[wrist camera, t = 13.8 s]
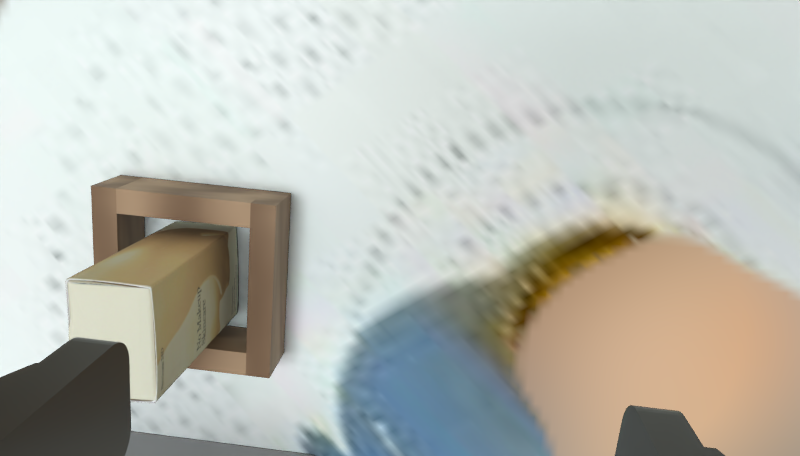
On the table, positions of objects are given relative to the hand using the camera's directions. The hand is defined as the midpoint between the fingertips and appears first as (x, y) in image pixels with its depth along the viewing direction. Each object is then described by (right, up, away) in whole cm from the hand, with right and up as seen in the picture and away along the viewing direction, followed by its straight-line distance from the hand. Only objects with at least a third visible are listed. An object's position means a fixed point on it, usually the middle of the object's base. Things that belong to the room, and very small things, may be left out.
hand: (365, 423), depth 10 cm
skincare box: (-12, +1, +32) cm, 35 cm away
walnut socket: (-12, +1, +32) cm, 34 cm away
